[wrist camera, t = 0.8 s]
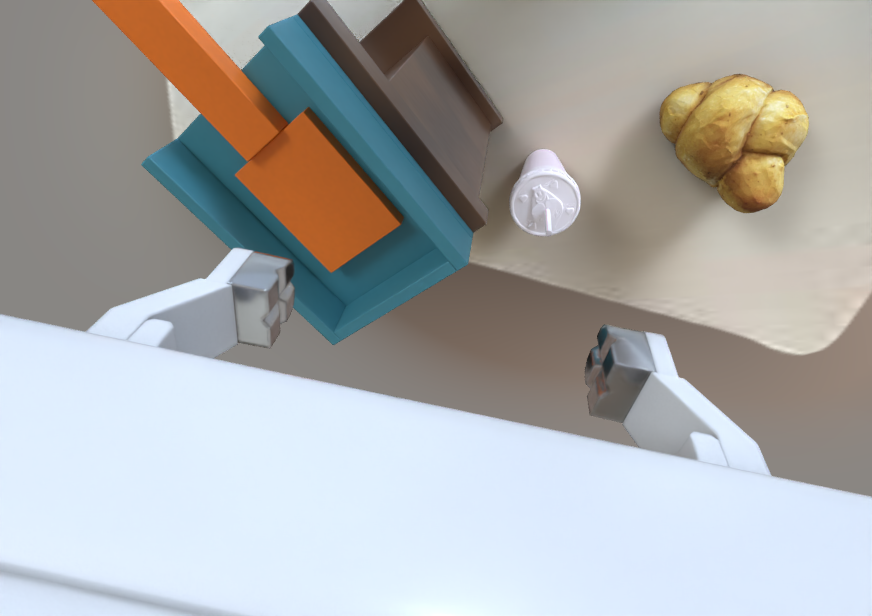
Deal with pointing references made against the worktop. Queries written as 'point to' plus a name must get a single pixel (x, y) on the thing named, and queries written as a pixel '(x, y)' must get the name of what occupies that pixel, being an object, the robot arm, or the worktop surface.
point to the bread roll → (736, 136)
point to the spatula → (264, 136)
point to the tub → (369, 146)
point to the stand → (418, 95)
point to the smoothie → (544, 196)
